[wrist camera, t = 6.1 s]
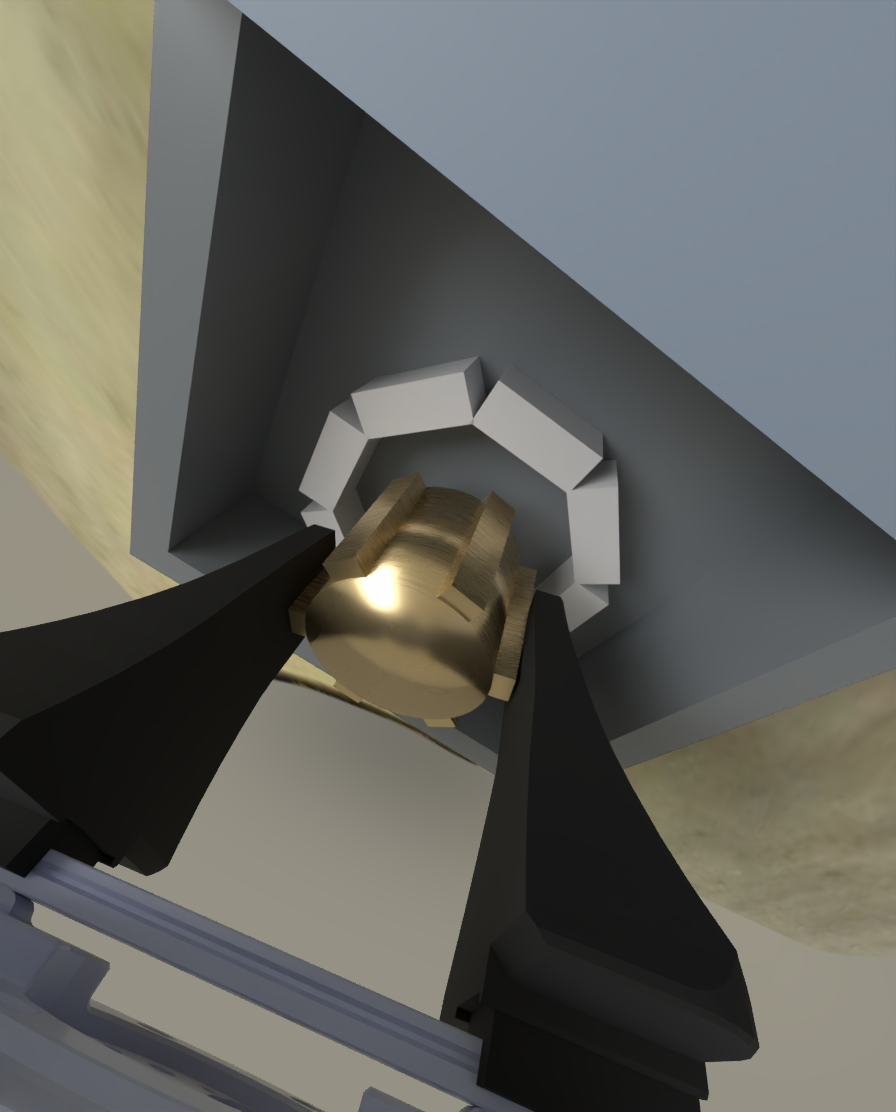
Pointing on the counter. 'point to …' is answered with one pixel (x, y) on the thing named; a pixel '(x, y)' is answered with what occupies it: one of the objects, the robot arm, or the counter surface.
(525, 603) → the ribbed brass cylinder
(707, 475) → the housing
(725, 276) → the lid
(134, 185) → the counter surface
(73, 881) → the robot arm
